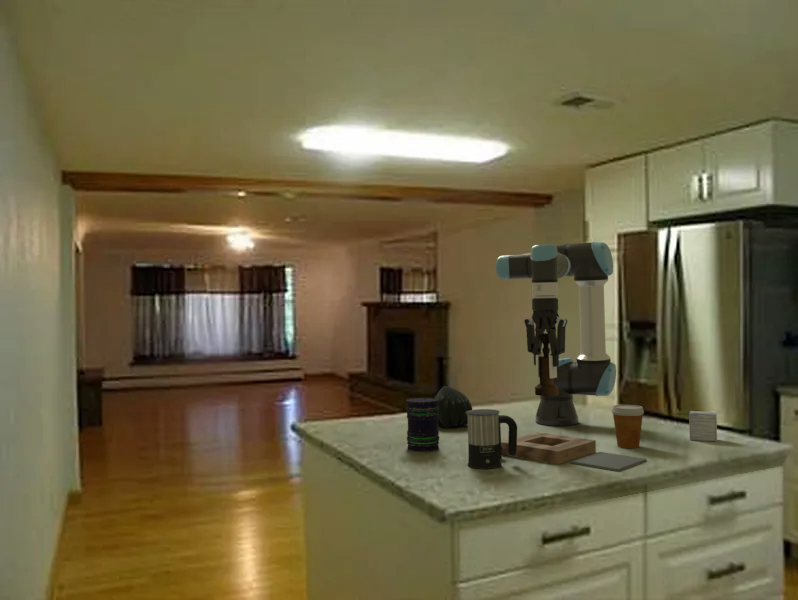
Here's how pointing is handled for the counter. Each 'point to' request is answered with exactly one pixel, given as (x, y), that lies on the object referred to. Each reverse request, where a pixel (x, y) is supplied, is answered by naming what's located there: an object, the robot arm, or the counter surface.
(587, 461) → the mat
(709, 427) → the medicine box
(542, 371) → the wooden pepper mill
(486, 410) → the milk frother
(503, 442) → the collar block
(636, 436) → the disposable coffee cup
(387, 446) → the counter surface
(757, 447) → the counter surface
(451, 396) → the squash
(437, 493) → the counter surface
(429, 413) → the storage jar
